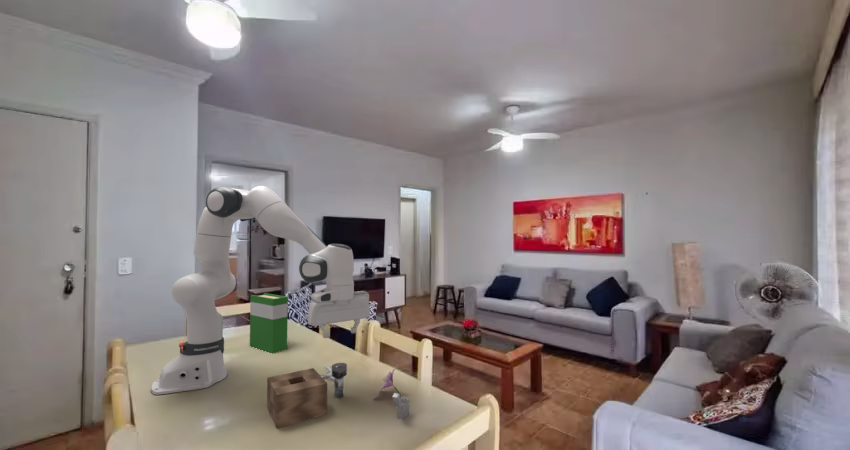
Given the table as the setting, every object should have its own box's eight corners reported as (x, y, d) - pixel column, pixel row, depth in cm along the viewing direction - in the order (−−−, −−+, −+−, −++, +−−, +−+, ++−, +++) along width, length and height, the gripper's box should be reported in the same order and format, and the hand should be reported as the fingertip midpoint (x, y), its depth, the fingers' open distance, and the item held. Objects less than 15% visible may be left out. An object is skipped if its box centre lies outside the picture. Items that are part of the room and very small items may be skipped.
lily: (393, 387, 125) (379, 364, 125) (418, 381, 119) (404, 357, 119) (374, 412, 115) (359, 387, 114) (400, 407, 109) (385, 381, 108)
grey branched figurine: (326, 363, 141) (349, 373, 131) (325, 367, 141) (349, 377, 131) (303, 371, 134) (326, 381, 124) (303, 375, 134) (326, 386, 124)
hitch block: (276, 428, 97) (277, 394, 97) (266, 407, 108) (267, 377, 108) (327, 413, 104) (327, 383, 105) (312, 395, 116) (313, 368, 116)
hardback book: (249, 346, 166) (250, 295, 166) (264, 342, 172) (265, 293, 172) (272, 353, 156) (273, 299, 157) (287, 349, 162) (287, 296, 163)
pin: (334, 401, 112) (334, 369, 113) (329, 395, 116) (329, 364, 117) (348, 397, 115) (349, 366, 115) (343, 391, 119) (343, 361, 119)
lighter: (404, 411, 106) (404, 384, 106) (409, 413, 105) (409, 386, 105) (391, 423, 99) (391, 394, 100) (397, 424, 99) (397, 395, 99)
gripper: (365, 288, 125) (365, 328, 125) (306, 294, 114) (306, 338, 113) (373, 291, 120) (373, 332, 119) (312, 297, 108) (312, 343, 108)
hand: (340, 335), depth 116 cm, fingers open, 8 cm apart
